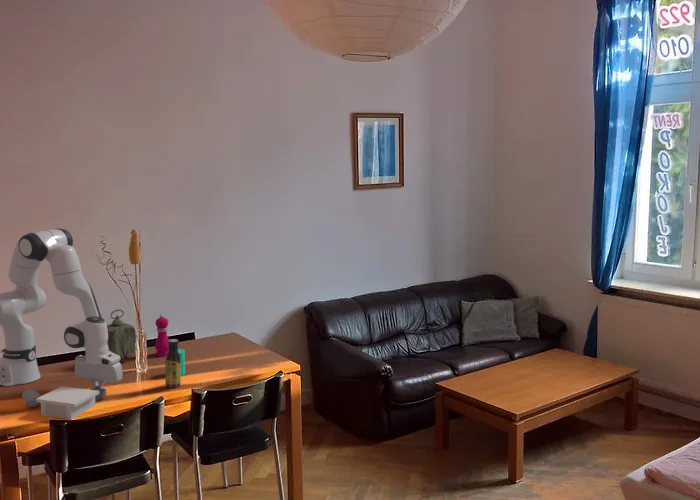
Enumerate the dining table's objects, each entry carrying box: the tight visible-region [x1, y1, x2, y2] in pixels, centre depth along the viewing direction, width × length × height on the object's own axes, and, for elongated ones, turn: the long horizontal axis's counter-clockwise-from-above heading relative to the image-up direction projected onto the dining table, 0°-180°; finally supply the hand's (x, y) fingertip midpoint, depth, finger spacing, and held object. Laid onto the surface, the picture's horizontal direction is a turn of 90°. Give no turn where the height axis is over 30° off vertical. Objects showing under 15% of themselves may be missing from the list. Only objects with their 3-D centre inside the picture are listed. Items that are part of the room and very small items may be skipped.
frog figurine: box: [21, 388, 42, 408], centre depth 256 cm, size 6×7×7 cm
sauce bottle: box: [164, 338, 182, 389], centre depth 278 cm, size 7×6×20 cm
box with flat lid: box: [36, 385, 99, 420], centre depth 252 cm, size 17×14×6 cm
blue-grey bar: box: [89, 386, 107, 403], centre depth 260 cm, size 18×6×3 cm, turn 165°
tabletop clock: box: [107, 309, 137, 364], centre depth 307 cm, size 14×9×25 cm, turn 145°
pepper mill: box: [154, 314, 170, 357], centre depth 320 cm, size 7×7×20 cm
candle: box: [178, 348, 186, 376], centre depth 294 cm, size 6×6×12 cm
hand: (99, 389), depth 270 cm, fingers closed
